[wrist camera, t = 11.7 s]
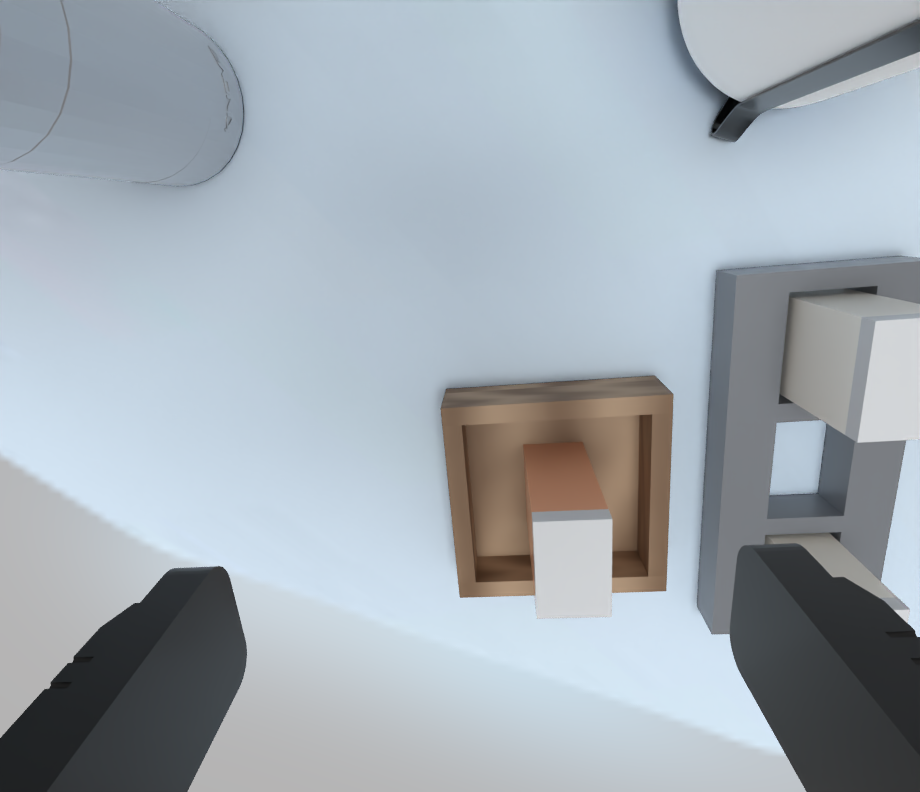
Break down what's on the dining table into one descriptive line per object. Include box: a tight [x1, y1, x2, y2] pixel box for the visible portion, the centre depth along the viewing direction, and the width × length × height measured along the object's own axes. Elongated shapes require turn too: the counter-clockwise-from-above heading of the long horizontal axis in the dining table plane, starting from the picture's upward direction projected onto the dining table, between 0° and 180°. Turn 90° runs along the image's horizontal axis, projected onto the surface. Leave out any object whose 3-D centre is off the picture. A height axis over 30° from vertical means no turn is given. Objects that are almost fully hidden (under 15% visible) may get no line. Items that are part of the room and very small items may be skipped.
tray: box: [441, 376, 673, 598], centre depth 37 cm, size 14×14×4 cm
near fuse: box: [779, 288, 920, 443], centre depth 30 cm, size 6×4×10 cm, turn 5°
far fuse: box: [764, 533, 910, 623], centre depth 35 cm, size 6×4×10 cm, turn 5°
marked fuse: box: [523, 442, 612, 619], centre depth 34 cm, size 6×4×10 cm, turn 4°
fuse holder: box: [697, 256, 920, 634], centre depth 36 cm, size 25×11×3 cm, turn 5°
